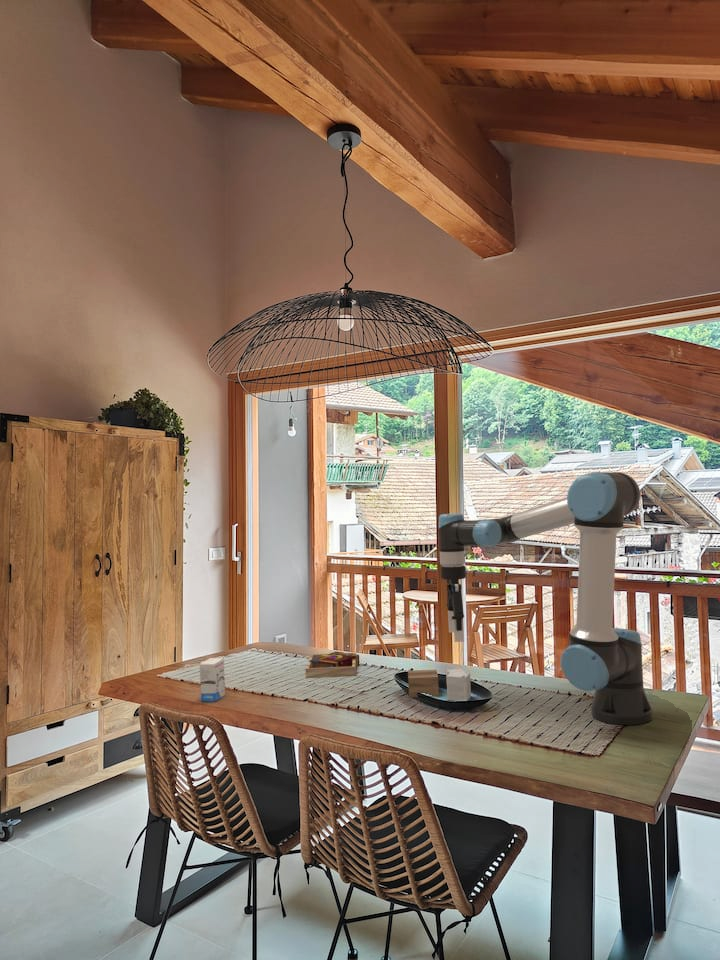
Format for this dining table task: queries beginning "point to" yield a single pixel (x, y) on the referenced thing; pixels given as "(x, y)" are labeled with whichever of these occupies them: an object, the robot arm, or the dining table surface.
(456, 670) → the grey cube
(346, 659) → the decorative book
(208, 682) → the ink box
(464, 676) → the skincare box
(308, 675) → the book frame
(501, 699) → the dining table surface
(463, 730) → the dining table surface
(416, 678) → the walnut block
